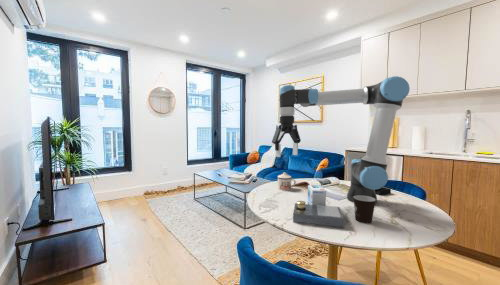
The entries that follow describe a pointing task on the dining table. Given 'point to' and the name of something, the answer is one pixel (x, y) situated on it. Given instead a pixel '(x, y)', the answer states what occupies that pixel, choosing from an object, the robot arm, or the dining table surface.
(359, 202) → the coffee mug
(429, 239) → the dining table surface
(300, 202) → the press pin
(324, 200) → the light bulb box
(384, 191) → the battery charger
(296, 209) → the plate
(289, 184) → the teacup with lid
